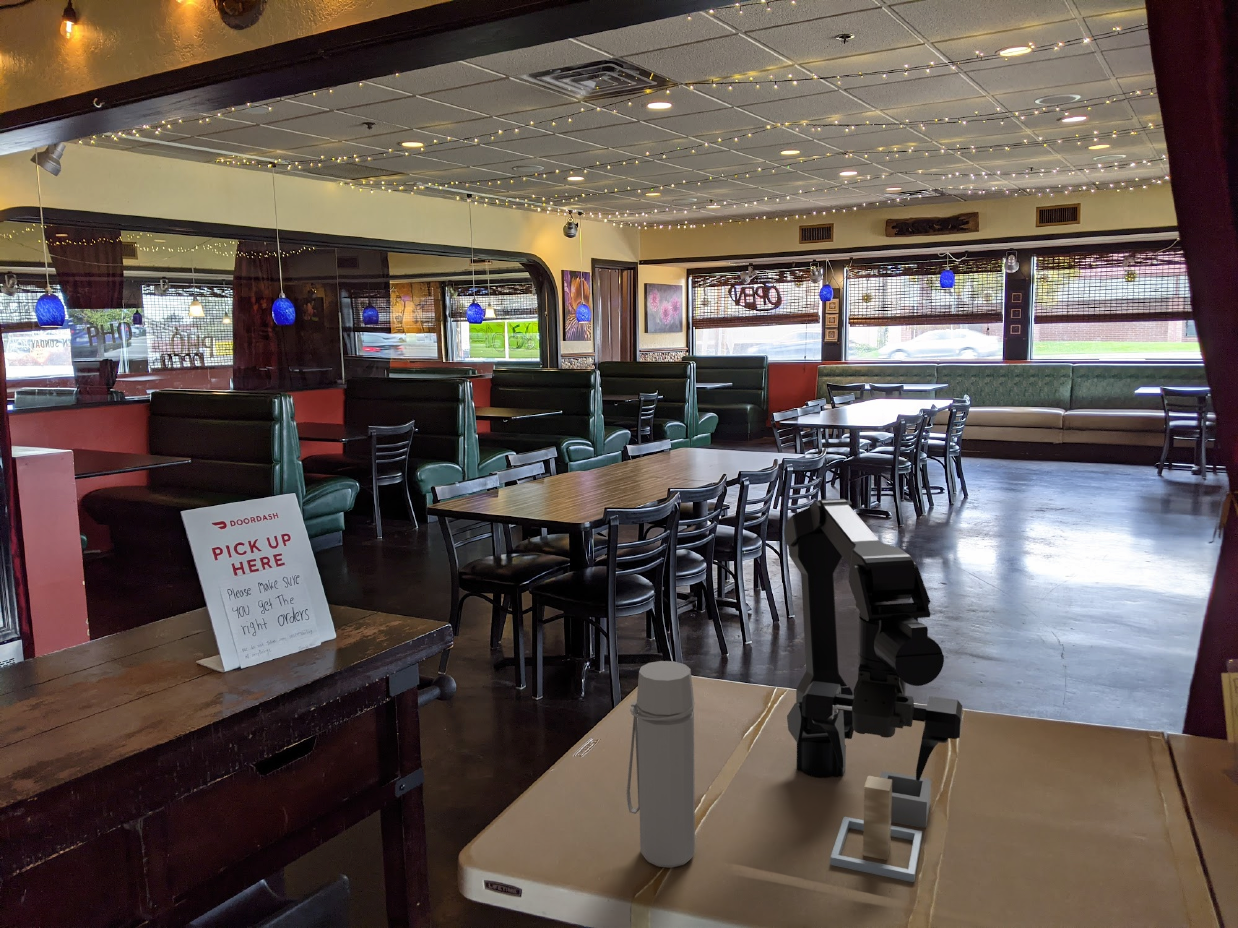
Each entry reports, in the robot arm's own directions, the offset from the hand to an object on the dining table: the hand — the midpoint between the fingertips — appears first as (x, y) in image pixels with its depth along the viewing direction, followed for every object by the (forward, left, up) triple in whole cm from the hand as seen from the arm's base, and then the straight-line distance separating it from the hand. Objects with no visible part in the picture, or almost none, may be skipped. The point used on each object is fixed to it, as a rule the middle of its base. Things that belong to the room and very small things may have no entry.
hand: (879, 772), depth 116 cm
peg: (0, 0, -11) cm, 11 cm away
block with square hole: (+2, +11, -12) cm, 16 cm away
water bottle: (-26, -9, -12) cm, 30 cm away
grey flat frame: (0, 0, -12) cm, 12 cm away
